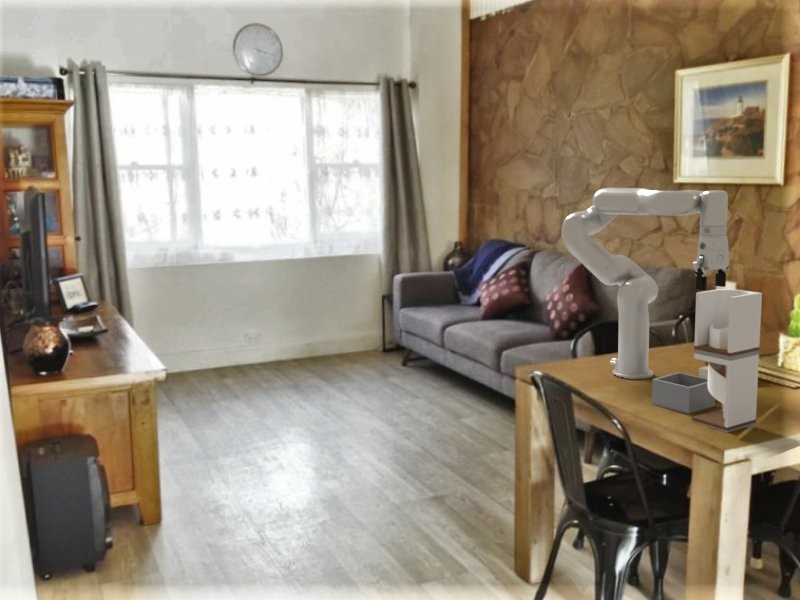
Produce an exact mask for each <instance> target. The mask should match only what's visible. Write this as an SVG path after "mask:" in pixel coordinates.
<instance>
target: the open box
mask: <svg viewBox="0 0 800 600" xmlns="http://www.w3.org/2000/svg"><path fill="white" fill-rule="evenodd" d="M651 383H652V384H651V387H652V388H651V389H652V390H651V404H652V405H653V406H657V407H662V408H665V409H669V410H672V411H676V412H680V413H683V414H687V415H690V414H693V413H697V412H700V411H703V410H707V409H709V408H712V407H716V401H717V400H716V399H715V398H714V397H713V396H712V395H711V394H710V392H709V391H708V387H707V383H708V379H707V378H703V377H699V375H693V374H689V373H684V372H679V371H678V372H675V373H671V374H666V375H663V376H659V377H655V378H652V382H651Z"/></svg>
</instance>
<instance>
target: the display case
mask: <svg viewBox="0 0 800 600" xmlns="http://www.w3.org/2000/svg"><path fill="white" fill-rule="evenodd" d="M762 303H763V293H762V292H758V291H751V290H750V291H749V290H743V289H733V288H726V287H723V288H719V289H712V290H702V291H698V292H696V293H695V314H694V315H695V316H694V317H695V320H694V343H693V344H694V345H693V346H694V347H693V349H694V351H693V359H695V360H700V361H704V362H707V364H708V366H707V367H708V383H707V387H708V391H709V392H710V394H711V395H712V396H713V397H714V398H715V399H716V400H715V401H718V402H720V403H721V408H720V409H715V410H713V411H709V412H705V413H701V414H697V415H693V416H691V422H692V423H695V424H697V425H702V426H705V427H708V428H712V429H714V430H718V431H722V432H724V433H730V432H733V431H737V430H740V429H744V428H745V429H744V431H747V430H750V429H754V428H756V425H757V424H756V423H757V421H756V420H757V406H758V385H759V384H758V383H759V366H760V365H759V363H760V361H759V360H760V346H761V343H760V342H761V323H762V322H761V320H762V305H763V304H762Z"/></svg>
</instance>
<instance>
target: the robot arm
mask: <svg viewBox="0 0 800 600" xmlns="http://www.w3.org/2000/svg"><path fill="white" fill-rule="evenodd" d="M728 201H729V194H728V191H725V190H721V189H719V190H717V189H716V190H715V189H714V190H713V189H712V190H696V189H684V190H683V189H682V190H651V189H648V188H644V187H643V188H642V187H604V188H600V189H599V190H597V191H596V192H595V193H594V195H593V197H592V205H591V206H590V207H589V208H587V209H586V210H581V211H575V212H573V213H570V214H569V215H568V216H567V217H566V218H564V221H563V223H562V226H561V230H560V231H561V240H562V243H563V245H564V246H565V248H566V249H567V251H568V252H569V254H571V255H572V256H573V257H574V258H575V259H577V260H578V261H579V262H580V263H581V264H582V265H583V266H584V268H586V269H587V270H588V271H589V272H590V273H591V274H592V275H594V277H595V278H596V279H597V280H598V281H600V282H601V283H602V284H604V285H606V286H615V285H617V286H618V289H617V290H618V291H617V294H616V303H617V311H618V334H617V335H618V337H617V338H618V340H617V343H618V344H617V345H618V346H617V347H618V349H617V351H618V352H617V358H616V357H612V358H611V360H610V361H609V365H613V366H614V367H615V368H614V369H612V375H614V374H615V375H616V376H615V375H614V376H615V377H618V376H619V377H618V378H621V377H623V379H627V378H628V380H629V379H630V380H642V379H643V380H645V379H650V378H652V377H653V376H654V371H653V370H651V369H649V349H650V348H649V347H650V343H649V342H650V316H649V315H650V314H649V306H648V305H649V304H651V303H652V302H654V301H655V300H656V298H657V297H658V294H659V287H658V284H657V282H656V281H655V280H654V278H652V276H650V274H648V273H647V272H646V271H645V270H644V269H643V268H641V267H640V266H639V265H638V264H637V263H636V262H635V261H633V260H632V259H631V258H630V257H627V256H626V255H623V254H614V255H613V254H612V253H610V252H609V251H608V250H607V249H605V248H604V247H603V246H602V245H601V244H600V243H598V242H597V241H595V240H594V239H593V238H591V236H594V235H596V234H598V233H599V232H600V231H602V229H604V228H605V227H606V226H607V225H608V224H610V222H612V221H613V220H614V219H616V217H618V216H619V215H624V216H625V215H626V216H627V215H630V216H669V217H673V216H674V217H685V216H689V215H694V214H695V215H697V214H699V235H698V236H699V239H698V244H697V251H696V259H695V260H694V261H693V262H692V267H693V272H694V276H695V277H696V278H695V289H696V290H700V291H707V284H708V278H707V277H708V276H707V274H708V272H709V271H716V272H715V280H714V281H715V283H714V285H715V287H722V288H726V286H727V285H726V284H727V274H728V269H729V267H730V262H731V258H730V253H729V251H730V249H729V241H728V235H727V231H728V230H727V229H728V228H727V227H728V226H727V225H728V205H729V203H728Z"/></svg>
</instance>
